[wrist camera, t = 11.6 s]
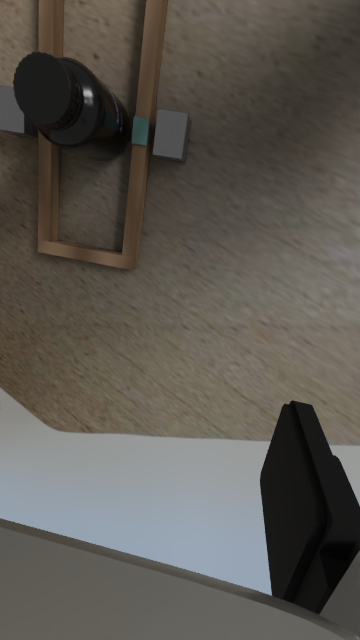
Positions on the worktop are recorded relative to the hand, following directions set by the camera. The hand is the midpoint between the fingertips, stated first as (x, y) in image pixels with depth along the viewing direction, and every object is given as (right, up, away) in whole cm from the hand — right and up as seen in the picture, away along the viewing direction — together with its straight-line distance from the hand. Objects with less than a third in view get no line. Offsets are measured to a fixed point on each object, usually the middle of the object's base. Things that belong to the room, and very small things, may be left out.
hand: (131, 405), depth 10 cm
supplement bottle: (-7, +24, +25) cm, 36 cm away
